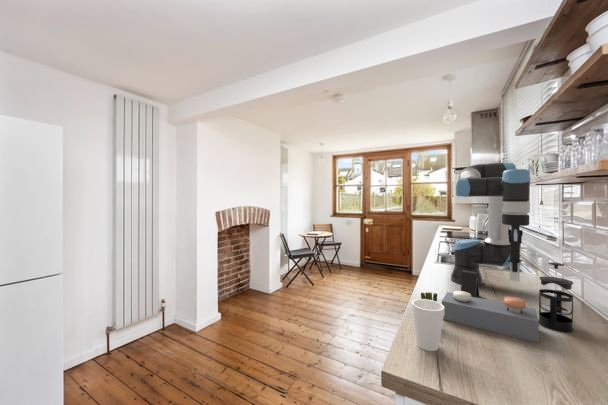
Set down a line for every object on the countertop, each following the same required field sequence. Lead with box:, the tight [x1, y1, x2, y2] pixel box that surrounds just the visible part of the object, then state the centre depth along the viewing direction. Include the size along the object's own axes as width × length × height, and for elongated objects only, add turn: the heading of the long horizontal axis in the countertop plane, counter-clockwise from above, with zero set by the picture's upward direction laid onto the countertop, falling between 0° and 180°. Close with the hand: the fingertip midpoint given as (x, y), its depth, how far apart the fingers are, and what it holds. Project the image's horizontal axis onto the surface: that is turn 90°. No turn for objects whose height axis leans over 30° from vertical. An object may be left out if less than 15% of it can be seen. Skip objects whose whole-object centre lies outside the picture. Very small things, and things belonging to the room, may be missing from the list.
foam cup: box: [411, 298, 445, 352], centre depth 84 cm, size 10×9×13 cm
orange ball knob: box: [503, 296, 527, 313], centre depth 93 cm, size 6×6×8 cm
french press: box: [538, 261, 575, 334], centre depth 96 cm, size 12×9×23 cm
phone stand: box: [460, 270, 481, 298], centre depth 125 cm, size 9×6×12 cm, turn 134°
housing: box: [441, 291, 540, 344], centre depth 98 cm, size 12×28×7 cm, turn 52°
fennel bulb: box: [420, 292, 438, 302], centre depth 97 cm, size 6×5×12 cm
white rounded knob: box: [452, 290, 471, 302], centre depth 103 cm, size 6×6×8 cm
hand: (514, 280), depth 93 cm, fingers closed
